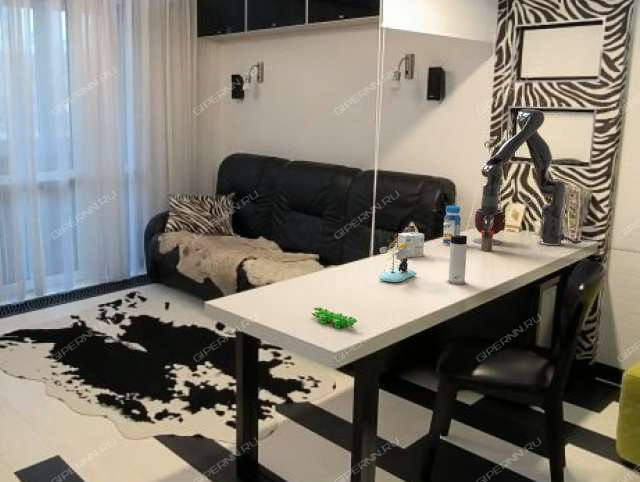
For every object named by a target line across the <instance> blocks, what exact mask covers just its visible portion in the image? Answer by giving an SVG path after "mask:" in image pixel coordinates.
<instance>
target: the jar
mask: <svg viewBox="0 0 640 482" xmlns="http://www.w3.org/2000/svg"><path fill="white" fill-rule="evenodd" d="M481 238H482V241H481V243H480V244H481V245H480V251H482V252H493V246H494V245H493V239H494V235H489V239H484V235H483V234H481Z"/></svg>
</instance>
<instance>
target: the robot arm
mask: <svg viewBox="0 0 640 482" xmlns="http://www.w3.org/2000/svg"><path fill="white" fill-rule="evenodd" d="M545 118H546V117H545V114H544V112H542V111H541V110H538V109H532V108H522V109H521V110H519V112H518V113H517V116H516V120H517V124H518V127H519V129H520V131H518V132H517V133H516V134H515V135H513V136H512V137H510V138H508V139H507V140H506V141H505V142H504V143H503V144H502V145H501V146H500V147H499V149H498V150H497V151H496V152H495V154H494V155H493V156H491V157H490V158H489V159H488V160H487V161H486V162H485V163H484V164H483V166H482V167H481V171H480V172H481V175H482V176H483V177H484V178H487V182H486V183H484V184H483V186H482V196H481V203H480V204H481V205H480V208H481V213H482V214H485V218H484V220H483V231H484V239H489V231H490V230H492V227H493V220H494V216H493V215H496V214H497V210H498V209H499V207H498V206H499V187H500V185H501V181H502V178H503V169H502V167H501V166H503V165H506V164H508V163H509V162H510V160H511V159H512V157H513V156H514V155H515V153H516V152H517V151H518V150H519V149H520V148H521V147H522V146H523V145H524V144H525V143H526V147H527V149H528V153H529V156H530V158H531V162H532V165H533V167H534V171H535V174H536V180H537V184H538V189H539V193H540V195H541V196H542V197H544V198H548V199H551V202H550V203H545V204H543V205H542V207H541V220H540V233H539V234H540V235H539V239H538V240H539V244H540V245H545V246H560V245H562V241H564V240H568V241H569V242H570V243H573V244H578V243H581V240H572V239H571V238H570V237H567V236H565V233H563V225H562V220H563V219H562V217H563V209H564V206H565V198H566V193H567V192H566V191H567V187H566V183H565V182H564V181H562V180H554V179H551V178H550V176H549V170H550V167H551V165H552V162H553V155H552V152H551V149H550V146H549V144H548V143H547V141H546V140H545V139H544V138H543V137H542V136H541V134H540V133H539V132H538V130H539V129H540V128H541V127H542V125H543V124H544V123H545ZM486 228H487V229H486Z"/></svg>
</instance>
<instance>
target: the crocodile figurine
mask: <svg viewBox="0 0 640 482" xmlns="http://www.w3.org/2000/svg"><path fill="white" fill-rule="evenodd" d="M312 310H314V312H311V315H312V316H313V317H315V318H316V319H320V321H319V322H320V323H321V324H323V325H325V324H327V323H328V322H332V324H334V325H333V327H334V328H336V329H341V327H343V328H346V326H349V327H350V329H353V328H354V325H355V324H356V323H357V322H358V320H357V318H354V317H353V316H349V317H348V315H343V313H342V312H340V313H338V312H337V313H334V311H329V310H328V309H327V308H322V307H321V306H319V307H313V308H312Z"/></svg>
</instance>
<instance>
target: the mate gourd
mask: <svg viewBox="0 0 640 482" xmlns="http://www.w3.org/2000/svg"><path fill="white" fill-rule="evenodd" d="M493 216H494V220H493V227H492V231H494V235H496V234H499V233H500V232H501V230H502V229H503V225H504V210H503V209H500V208H498V210H497V214H496V215H493ZM484 218H485V214H482V213H481V207H479V208H476V211H475V215H474V226H475V229H476V230H477V232H478V233H480V234H481V231H482V230H483V220H484ZM486 229H487V228H486ZM474 240H475V243H478V244H481V241H482V237H480V238H476V239H474ZM500 244H501V240H499V239H495V238H493V245H492V246H494V245H500Z"/></svg>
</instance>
